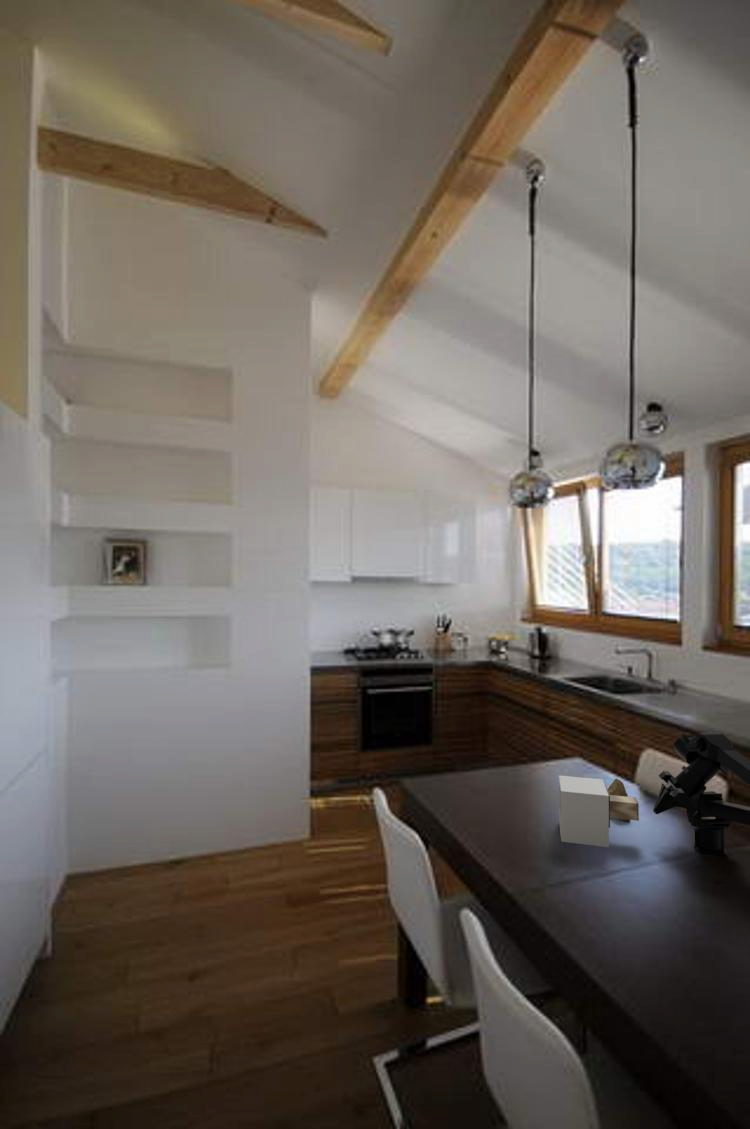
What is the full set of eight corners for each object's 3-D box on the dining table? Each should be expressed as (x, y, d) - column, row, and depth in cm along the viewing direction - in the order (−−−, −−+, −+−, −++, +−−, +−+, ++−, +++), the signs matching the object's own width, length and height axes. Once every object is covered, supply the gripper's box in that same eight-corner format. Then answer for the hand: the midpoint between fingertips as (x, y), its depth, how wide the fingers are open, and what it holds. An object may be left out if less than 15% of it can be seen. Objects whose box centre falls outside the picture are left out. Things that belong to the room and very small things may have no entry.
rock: (641, 816, 166) (636, 799, 175) (622, 792, 167) (618, 776, 176) (609, 833, 169) (605, 815, 178) (590, 809, 170) (588, 793, 179)
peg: (635, 814, 158) (635, 797, 158) (638, 820, 153) (638, 803, 153) (589, 809, 161) (589, 792, 161) (591, 815, 156) (591, 798, 157)
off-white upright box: (605, 827, 163) (604, 779, 164) (611, 847, 151) (611, 796, 151) (559, 822, 167) (558, 775, 167) (561, 841, 154) (561, 791, 155)
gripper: (735, 810, 142) (688, 851, 144) (711, 784, 160) (670, 821, 162) (698, 776, 144) (652, 817, 147) (679, 755, 162) (639, 791, 165)
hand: (654, 812), depth 155 cm, fingers closed
